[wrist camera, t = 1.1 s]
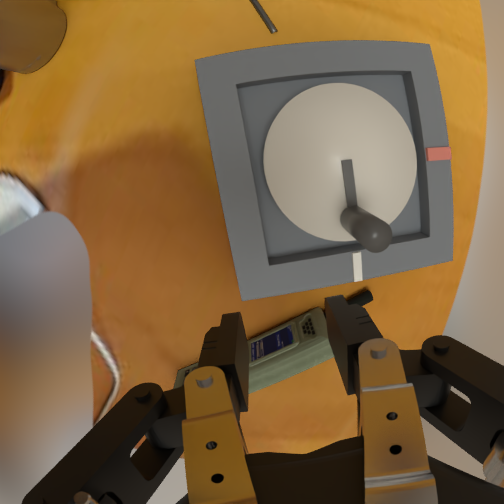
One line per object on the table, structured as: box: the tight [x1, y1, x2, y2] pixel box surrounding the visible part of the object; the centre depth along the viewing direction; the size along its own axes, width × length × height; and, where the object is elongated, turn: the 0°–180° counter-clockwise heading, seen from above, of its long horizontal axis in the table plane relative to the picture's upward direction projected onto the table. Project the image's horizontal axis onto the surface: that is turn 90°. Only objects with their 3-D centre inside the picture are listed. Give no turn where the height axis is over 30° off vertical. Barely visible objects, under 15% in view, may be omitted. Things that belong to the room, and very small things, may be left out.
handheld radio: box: [173, 290, 373, 394], centre depth 33 cm, size 7×3×25 cm
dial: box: [263, 83, 417, 253], centre depth 23 cm, size 14×14×8 cm
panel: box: [195, 40, 453, 301], centre depth 27 cm, size 22×22×4 cm
